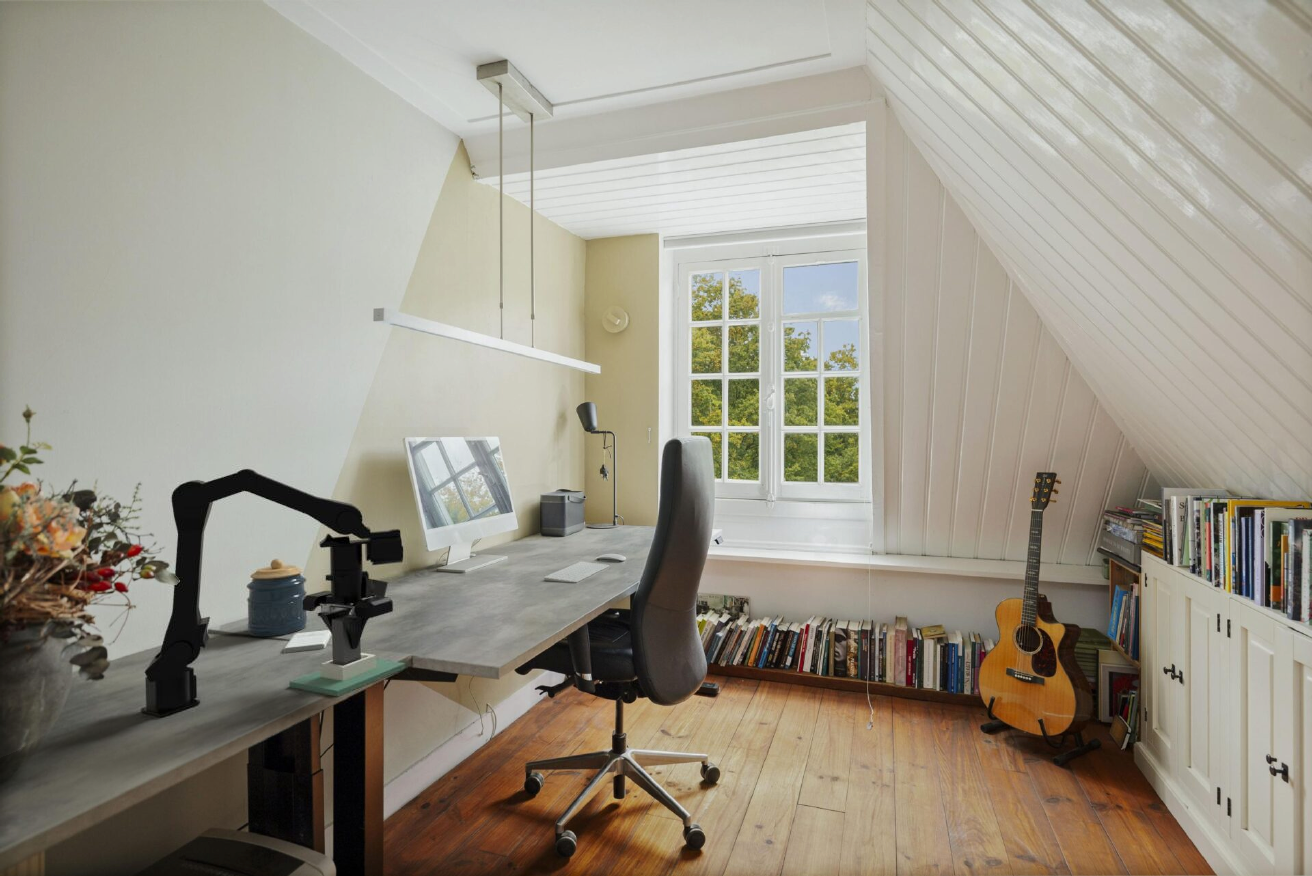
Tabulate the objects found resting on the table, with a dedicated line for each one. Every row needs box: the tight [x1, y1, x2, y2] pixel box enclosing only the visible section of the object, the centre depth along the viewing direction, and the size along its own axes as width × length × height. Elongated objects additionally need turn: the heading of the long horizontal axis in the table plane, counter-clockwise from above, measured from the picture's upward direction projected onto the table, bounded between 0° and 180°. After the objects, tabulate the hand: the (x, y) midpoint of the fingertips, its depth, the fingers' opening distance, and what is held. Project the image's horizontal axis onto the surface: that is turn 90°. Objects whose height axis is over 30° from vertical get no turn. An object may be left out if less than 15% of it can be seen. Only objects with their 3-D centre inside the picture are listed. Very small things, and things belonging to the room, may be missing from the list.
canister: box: [246, 558, 308, 637], centre depth 168 cm, size 13×13×18 cm
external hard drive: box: [283, 629, 332, 654], centre depth 156 cm, size 2×8×12 cm
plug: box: [331, 613, 362, 666], centre depth 132 cm, size 5×3×9 cm, turn 155°
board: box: [289, 652, 406, 697], centre depth 132 cm, size 16×13×4 cm
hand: (348, 647), depth 132 cm, fingers closed on plug, 3 cm apart
